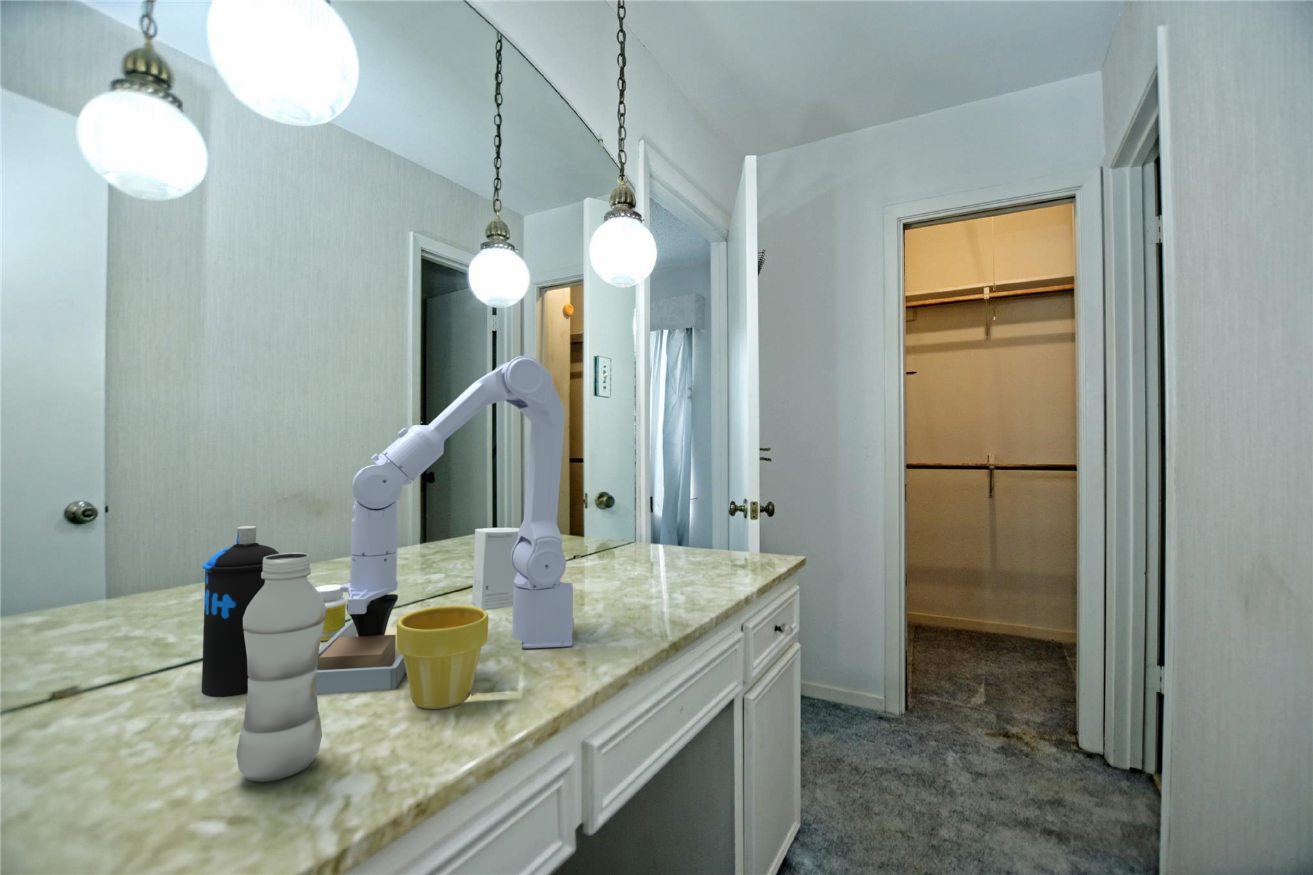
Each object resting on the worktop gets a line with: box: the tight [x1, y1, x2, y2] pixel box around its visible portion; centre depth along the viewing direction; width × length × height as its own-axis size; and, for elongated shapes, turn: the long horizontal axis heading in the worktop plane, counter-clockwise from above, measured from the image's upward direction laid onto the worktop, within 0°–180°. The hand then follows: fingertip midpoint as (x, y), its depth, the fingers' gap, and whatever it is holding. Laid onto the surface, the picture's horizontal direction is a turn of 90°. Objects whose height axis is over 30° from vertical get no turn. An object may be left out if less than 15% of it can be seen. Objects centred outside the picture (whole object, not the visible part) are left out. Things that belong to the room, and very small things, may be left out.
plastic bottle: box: [235, 552, 326, 783], centre depth 53 cm, size 6×7×20 cm
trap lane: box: [316, 618, 407, 695], centre depth 79 cm, size 16×24×4 cm
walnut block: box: [319, 635, 396, 670], centre depth 72 cm, size 7×7×4 cm
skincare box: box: [471, 527, 520, 611], centre depth 105 cm, size 8×6×15 cm
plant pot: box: [396, 605, 489, 710], centre depth 68 cm, size 10×10×10 cm
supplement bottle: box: [314, 584, 347, 643], centre depth 85 cm, size 5×5×8 cm
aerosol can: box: [201, 525, 281, 698], centre depth 69 cm, size 8×8×20 cm
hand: (371, 651), depth 77 cm, fingers closed
